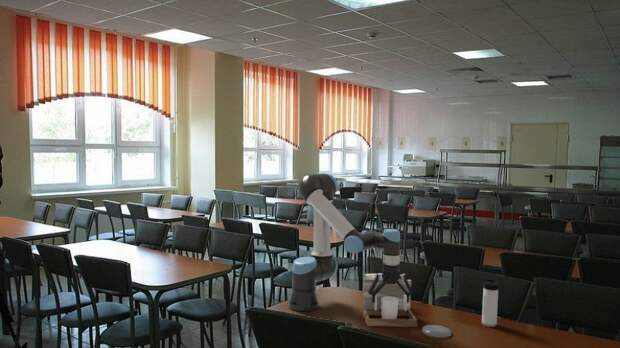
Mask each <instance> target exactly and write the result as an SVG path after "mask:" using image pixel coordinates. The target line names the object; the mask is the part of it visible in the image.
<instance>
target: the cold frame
mask: <svg viewBox="0 0 620 348" xmlns="http://www.w3.org/2000/svg"><path fill="white" fill-rule="evenodd" d="M382 280H383V279H379V280H378V282H377V284H376V286H375V288H374V290H375V289H376V288H377V286H378V285H379V284H380V283H381V281H382ZM373 281H374V279H365V278H364V280H363V303H362V305H363V307H362V309H363V310H362V315H363V319H364V321H365V324H366V326H367V327H405V328H406V327H407V328H408V327H409V328H410V327H411V328H412V327H413V328H414V327H415V328H416V327H418V319H417V318H416V316H415V315H414V313H413V312H412V311H411V297H412V295H410V296H409V303H407V311H405V310H404V295H406V294H405V293H404V292H403V290H402V289H401V288H400V287H399V286H398V284H397V283H396V284H385V285H384V286H383V287H382V288H381V290H380V291H379V292H378V293H377V294H376V296H377V311H375V309H374V303H373V302H372V295H369V293H368V291H369V289H370V287H371V285H372V283H373ZM398 281H399V282H400V284H401V285H402V286H403V287H404V289H405V290H406V291H407V292H409V290H408V288H407V286H406V284H405V282H404V280H403V279H399V280H398ZM407 281H408V283H409V285H410V287H411V288H412V280H411V279H407ZM374 290H373V291H374ZM385 296H391V297H395V298H398V299H399V302H398V313H397V317H408V318H397V319H382V318H370V316H380V317H382V314H381V298H382V297H385Z"/></svg>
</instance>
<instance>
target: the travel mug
mask: <svg viewBox="0 0 620 348" xmlns="http://www.w3.org/2000/svg"><path fill="white" fill-rule="evenodd" d="M482 289H483V290H482V292H483V293H482V306H481V307H482V310H481V324H482V325H483V326H484V327H489V328H495V327H497V323H498V306H499V305H498V303H499V302H498V301H499V282H498V281H496V280H494V279H491V278H489V279H485V280H483V288H482Z"/></svg>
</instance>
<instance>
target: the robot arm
mask: <svg viewBox="0 0 620 348" xmlns="http://www.w3.org/2000/svg"><path fill="white" fill-rule="evenodd" d="M338 188H339V186H338V181H337V179H336V178H335V177H334V176H333V175H332V174H330V173H316V174H312V173H311V174H307V175H305V176H303V177H302V178H301V179H300V181H299V183H298V191H299V195H300V197H301V198H302V199H303V201H304V202H305V203H306V204H307V205H309V206H312V208H313V250H312V251H311V252H310V256H300V257H297V258H296V259H294V261H293V262H292V268H291V271H292V273H291V281H292V282H291V283H292V284H291V292H290V296H289V298H288V304H287V306H288V308H289V309H290V310H293V311H297V312H312V311H316V310H317V309H319V306H320V301H319V298H318V295H317V283H318V282H321V281H324V280H328V279H330V278H332V277H334V276H335V274H337V272H338V266H339V265H338V260H337V259H336V257H335V256H334V252H333V251H332V250H331V228H332V229H333V230H334V232H335V233H336V234H337V235H338V236H339V237H340V239H341V240H342V241H343V246H344V249H345V250H346V252H347V253H350V254H354V253H361V252H363V251H368V250H371V249H378V250H382V262H383V264H382V275H381V274H378V272H377V273H376V272H375V273H376V275H375V279H374V281H373V283H372V285H371V287H370V289H369V291H368V293H369V295H372V302H373V303H374V309H375V311H377V296H376V294H377V293H378V292H379V291H380V290H381V288H382V287H383V286H384V285H385V284H396V283H397V284H398V286H399V287H400V288H401V289H402V290H403V292H404V293H405V294H406V295H404V310H405V311H407V303H409V296H410V295H411V296H413V295H414V291H413V289H412V286H411V287H410V285H409V283H408V281H407V280H408V279H407V277H408V276H407V275H406V273H402V274H400V269H401V268H400V266H401V265H400V263H401V261H400V260H401V258H400V257H401V256H400V255H401V254H400V253H401V252H400V250H401V249H400V248H401V233H400V230H398V229H395V228H388V229H387V228H385V229H383V232H380V231H379V232H377V231H372V230H362V232H359V231H358V230H357V229H356V228H355V227H354V226H353V225H352V224H351V223H350V222H349V221H348V220H347V218H346V217H345V216H344V215H343V214H342V213H341V211H339V210H338V209H337V208H336V206H334V204H333V201H334V196H335V195H336V194H337V192H338V190H339V189H338ZM381 277H382V278H383V280H382V281H381V283H380V284H379V285H378V286H377V288H376V289H375V290H374V288H375V286H376V284H377V282H378V280H379V279H380V278H381ZM398 280H404V282H405V284H406V286H407V288H408V290H409V292H407V291H406V290H405V289H404V287H403V286H402V285H401V284H400V282H399V281H398ZM373 290H374V291H373Z"/></svg>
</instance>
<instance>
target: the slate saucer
mask: <svg viewBox="0 0 620 348" xmlns="http://www.w3.org/2000/svg"><path fill="white" fill-rule="evenodd" d="M421 329H422V330H421V332H422V333H423V334H424V335H425V336H427V337H431V338H435V339H446V338H449V337H451V336H452V331H451V329H450V328H448V327H445V326H443V325H439V324H426V325H423V326H422V328H421Z"/></svg>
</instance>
